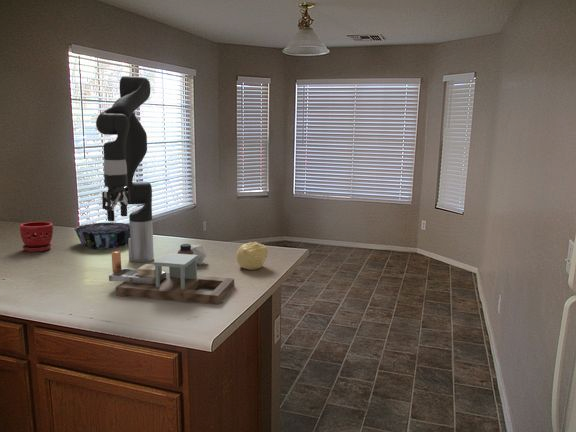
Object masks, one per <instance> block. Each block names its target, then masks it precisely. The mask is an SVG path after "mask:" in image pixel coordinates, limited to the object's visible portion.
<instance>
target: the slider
mask: <svg viewBox="0 0 576 432" xmlns="http://www.w3.org/2000/svg"><path fill="white" fill-rule="evenodd" d="M121 255H122V254H121V251H117V250H116V251H112V252H111V268H112V269H111V271H112V273H110V274H108V281H109V282H118V283H123V282H130V283H142V284H154V285H155V284H156V278H155V277H154V278H149V277H138V268H130V267H122V257H121ZM166 273H167V271H166V270H162V272H161V273H160V281H161V280H162V279H164V278H165V277H166Z"/></svg>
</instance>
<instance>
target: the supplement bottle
mask: <svg viewBox="0 0 576 432" xmlns="http://www.w3.org/2000/svg"><path fill="white" fill-rule="evenodd" d="M191 245H192V244H191V243H182V244H180V247H179V248H180V249H179V250H178V251H177V254H190V255H193V250H191Z"/></svg>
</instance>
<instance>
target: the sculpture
mask: <svg viewBox="0 0 576 432" xmlns="http://www.w3.org/2000/svg"><path fill="white" fill-rule="evenodd" d="M268 252H269V249H268V248H267V246H266V245H265V244H262V243H260V242H257V241H254V242H253V241H251V242H246V243H244V244H242V245H240V246H239V248H238V249H237V252H236V262H237V264H238V266H239V267H241V268H243V269H245V270H249V271H254V270H255V271H256V270H258V269H260V268H261V267H263V265H264V263H265V261H266V259H267V258H268Z"/></svg>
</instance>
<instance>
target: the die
mask: <svg viewBox="0 0 576 432" xmlns="http://www.w3.org/2000/svg"><path fill="white" fill-rule="evenodd" d="M190 245H191V250H193V255H198V259H197V265H198V266H199V265H200V266H201V265H202V264H203V263H204V260H205V258H206V257H207V253H206V251H205V249H204V247H203V244H190Z"/></svg>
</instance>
